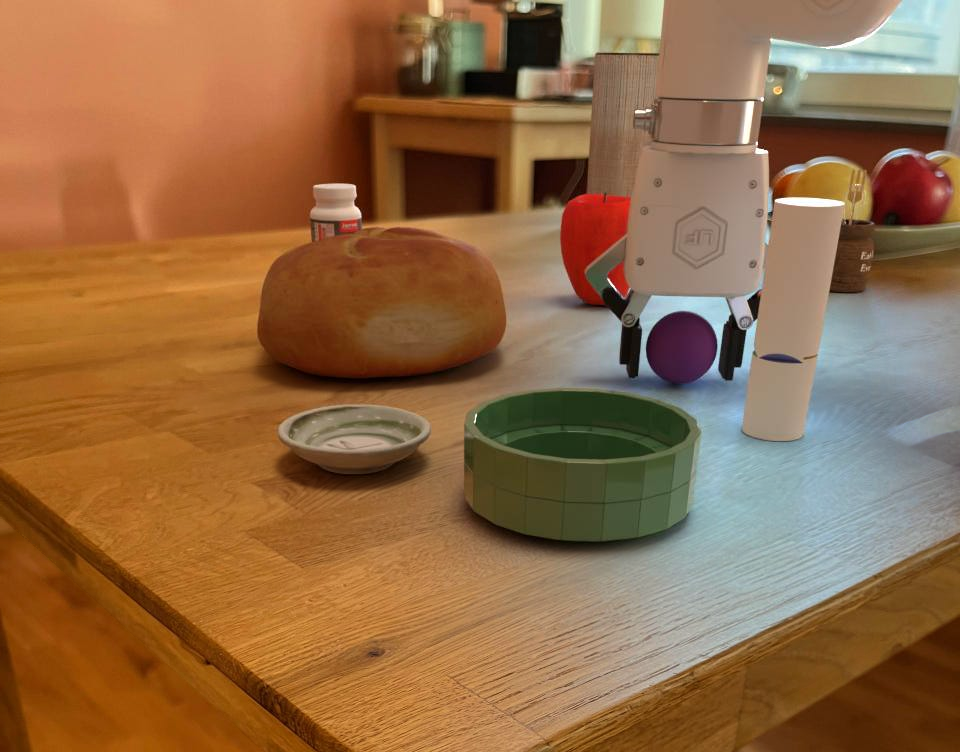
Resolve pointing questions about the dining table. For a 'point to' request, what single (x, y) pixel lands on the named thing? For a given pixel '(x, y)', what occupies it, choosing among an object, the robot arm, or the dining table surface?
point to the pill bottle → (334, 211)
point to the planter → (619, 119)
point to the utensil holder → (853, 246)
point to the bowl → (580, 463)
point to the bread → (381, 304)
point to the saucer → (354, 436)
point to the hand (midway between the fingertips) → (678, 373)
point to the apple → (593, 240)
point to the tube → (791, 316)
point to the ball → (681, 347)
